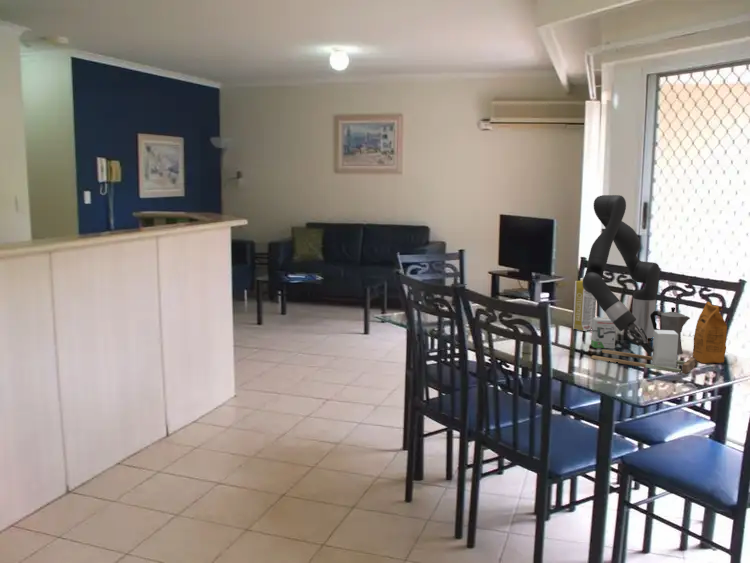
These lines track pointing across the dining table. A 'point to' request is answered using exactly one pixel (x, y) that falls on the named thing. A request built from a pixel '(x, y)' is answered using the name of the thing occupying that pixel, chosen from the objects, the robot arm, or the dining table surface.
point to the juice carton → (583, 307)
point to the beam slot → (685, 365)
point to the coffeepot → (671, 323)
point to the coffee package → (710, 336)
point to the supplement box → (665, 348)
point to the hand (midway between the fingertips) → (651, 352)
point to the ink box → (603, 333)
